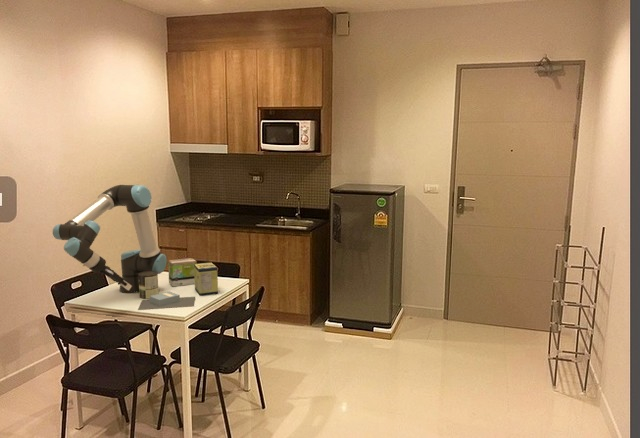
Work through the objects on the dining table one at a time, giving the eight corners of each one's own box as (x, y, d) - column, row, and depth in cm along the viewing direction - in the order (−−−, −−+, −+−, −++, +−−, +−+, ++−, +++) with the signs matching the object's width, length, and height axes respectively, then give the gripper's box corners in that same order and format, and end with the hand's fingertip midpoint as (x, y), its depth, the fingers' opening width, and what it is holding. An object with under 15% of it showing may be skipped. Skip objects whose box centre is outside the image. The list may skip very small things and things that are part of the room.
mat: (142, 300, 272) (142, 299, 272) (195, 297, 278) (195, 296, 278) (137, 311, 255) (137, 310, 255) (194, 307, 261) (194, 306, 260)
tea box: (172, 287, 299) (171, 263, 297) (168, 283, 308) (167, 260, 306) (197, 283, 307) (196, 260, 305) (192, 280, 315) (192, 257, 313)
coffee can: (136, 300, 274) (135, 275, 272) (143, 294, 284) (142, 270, 282) (155, 300, 273) (153, 275, 271) (161, 294, 283) (160, 270, 282)
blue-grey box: (159, 299, 260) (179, 294, 269) (149, 296, 267) (169, 291, 276) (159, 306, 261) (179, 301, 269) (149, 302, 267) (169, 297, 276)
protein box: (212, 287, 299) (211, 261, 297) (218, 294, 285) (217, 267, 283) (194, 289, 295) (193, 263, 293) (200, 296, 281) (199, 269, 279)
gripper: (83, 266, 241) (119, 291, 256) (95, 270, 232) (131, 296, 247) (93, 253, 244) (128, 279, 259) (105, 257, 236) (140, 284, 250)
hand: (129, 288), depth 253 cm, fingers closed
